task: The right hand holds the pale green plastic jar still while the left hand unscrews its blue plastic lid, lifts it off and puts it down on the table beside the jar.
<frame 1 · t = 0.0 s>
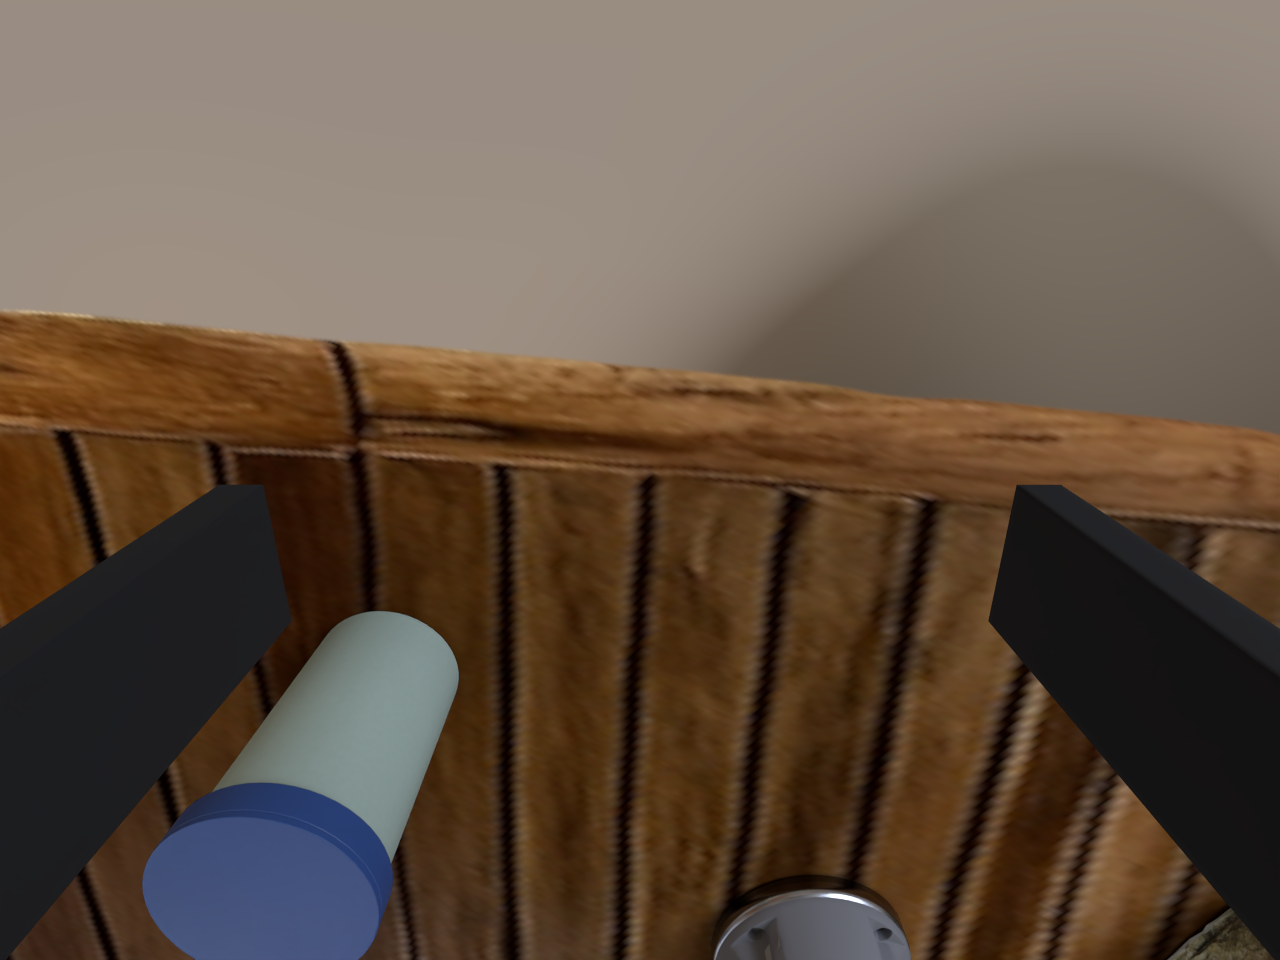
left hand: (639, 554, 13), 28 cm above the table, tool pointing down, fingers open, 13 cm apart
lid: (265, 898, 31), point 17 cm above the table, screwed on, not yet turned
fossil: (1219, 949, 57), on the table
jar: (389, 670, 47), on the table
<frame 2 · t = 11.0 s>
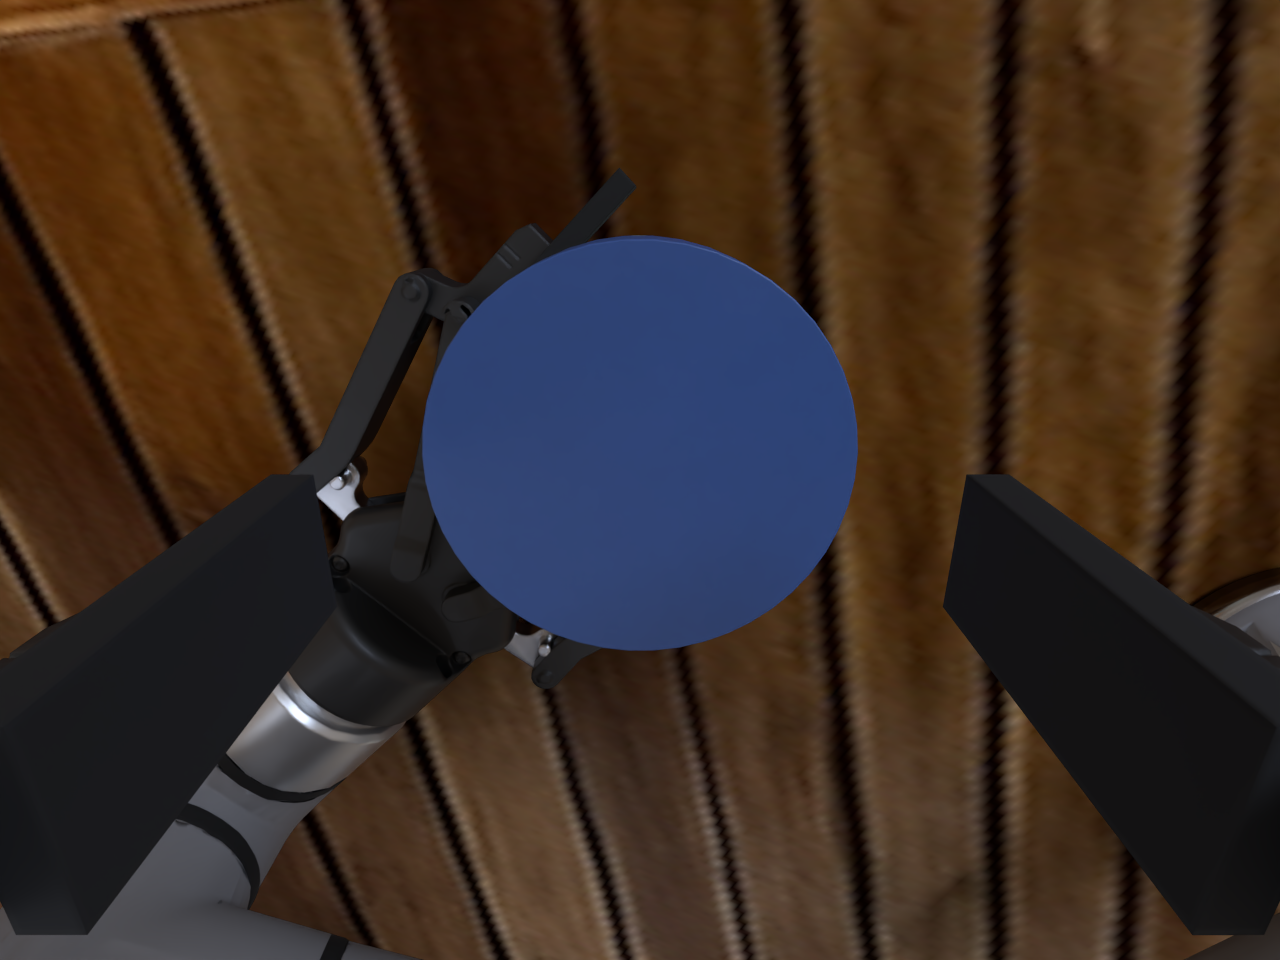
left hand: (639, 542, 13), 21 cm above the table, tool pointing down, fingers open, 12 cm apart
right hand: (727, 286, 25), fingers closed on jar, 9 cm apart
lid: (639, 462, 17), point 17 cm above the table, screwed on, not yet turned
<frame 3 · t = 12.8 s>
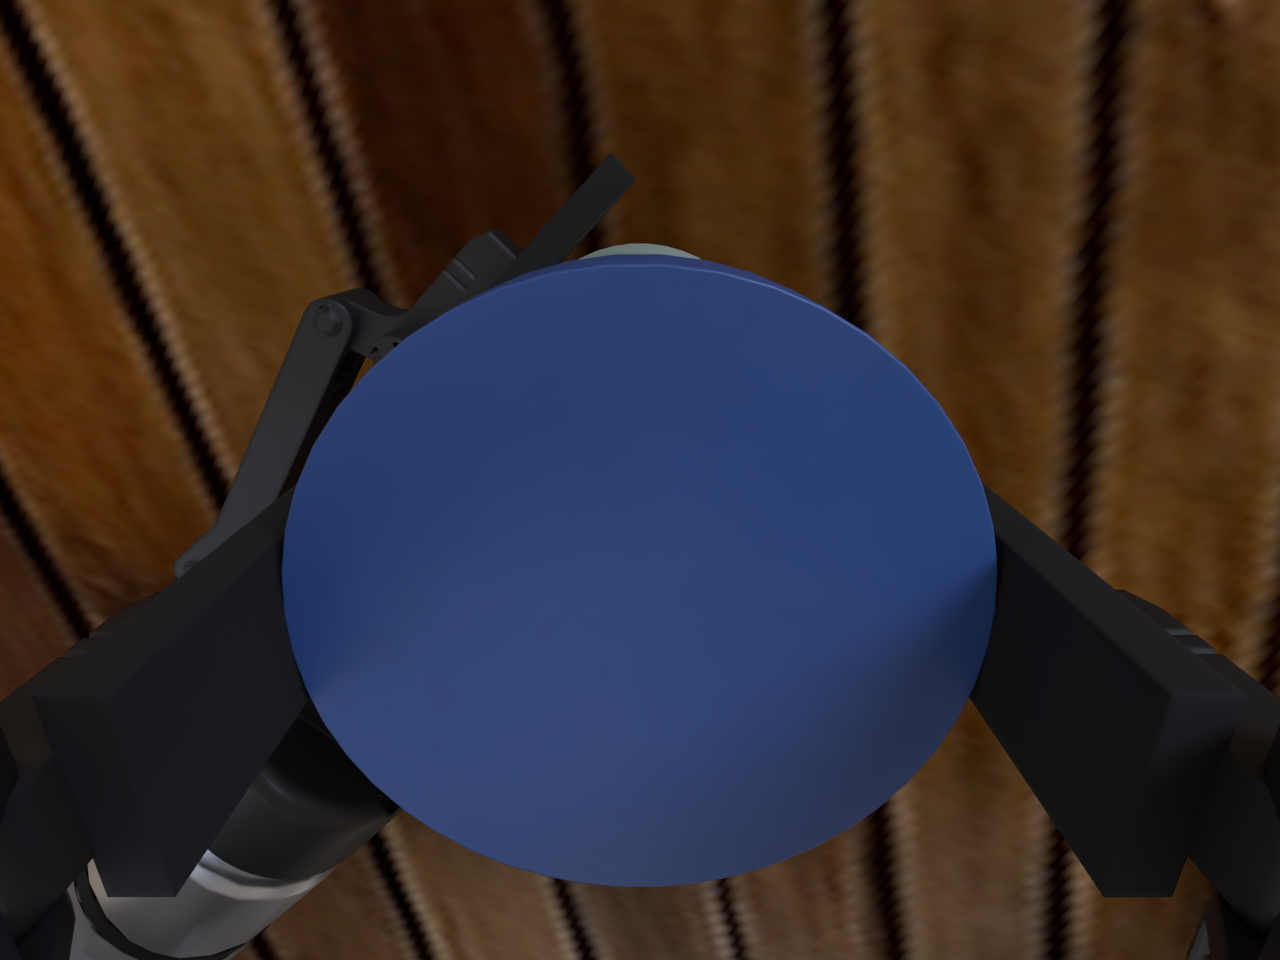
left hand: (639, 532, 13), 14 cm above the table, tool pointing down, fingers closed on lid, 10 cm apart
lid: (639, 619, 11), point 17 cm above the table, screwed on, not yet turned, touching left hand
jar: (639, 375, 26), on the table, touching right hand
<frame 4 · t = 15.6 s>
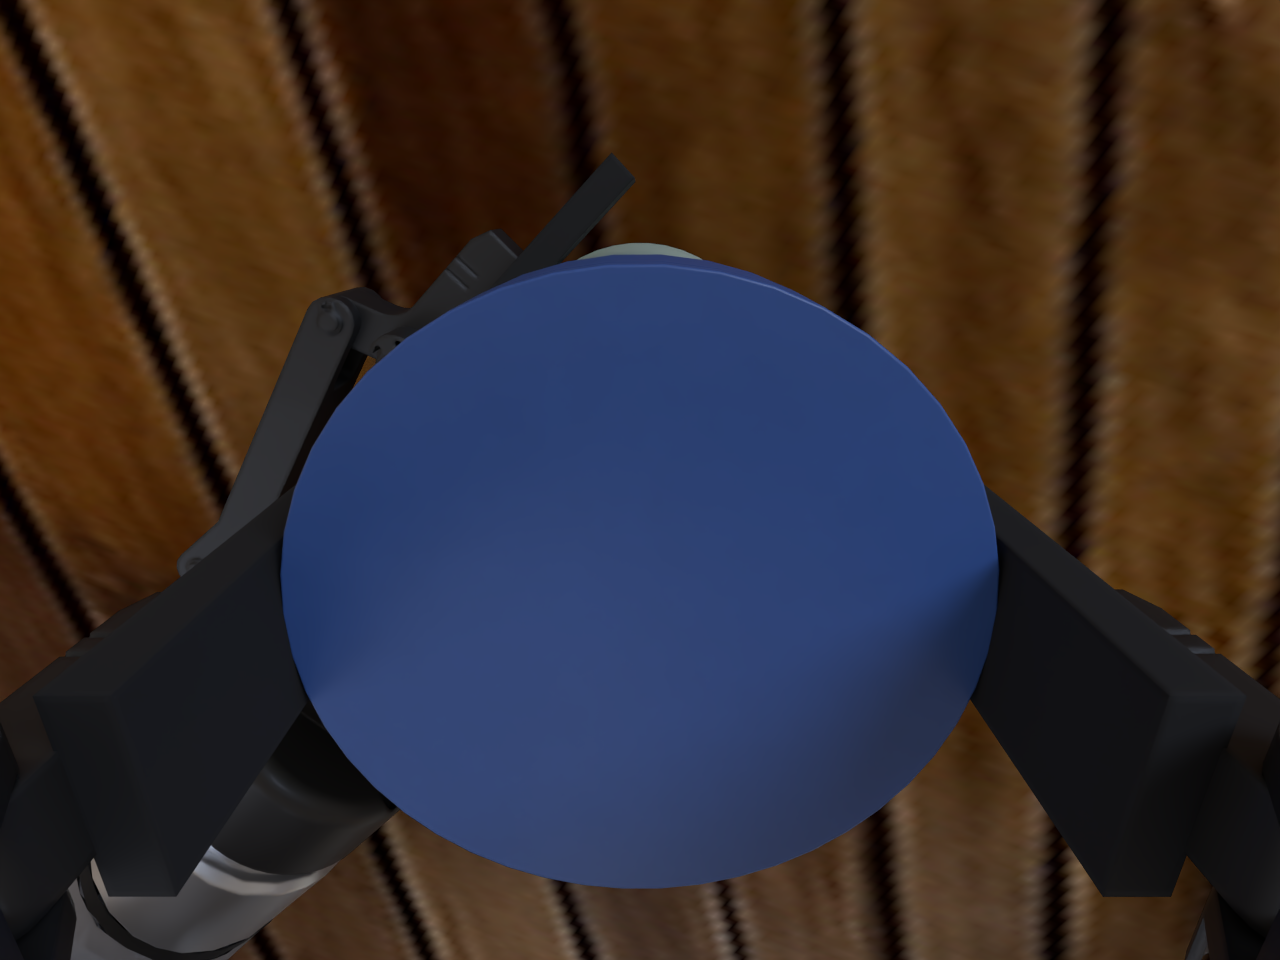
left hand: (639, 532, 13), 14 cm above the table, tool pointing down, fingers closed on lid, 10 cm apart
lid: (639, 620, 11), point 17 cm above the table, turned 75° so far, risen 0.2 cm, still on its thread, touching left hand
jar: (639, 374, 26), on the table, touching right hand
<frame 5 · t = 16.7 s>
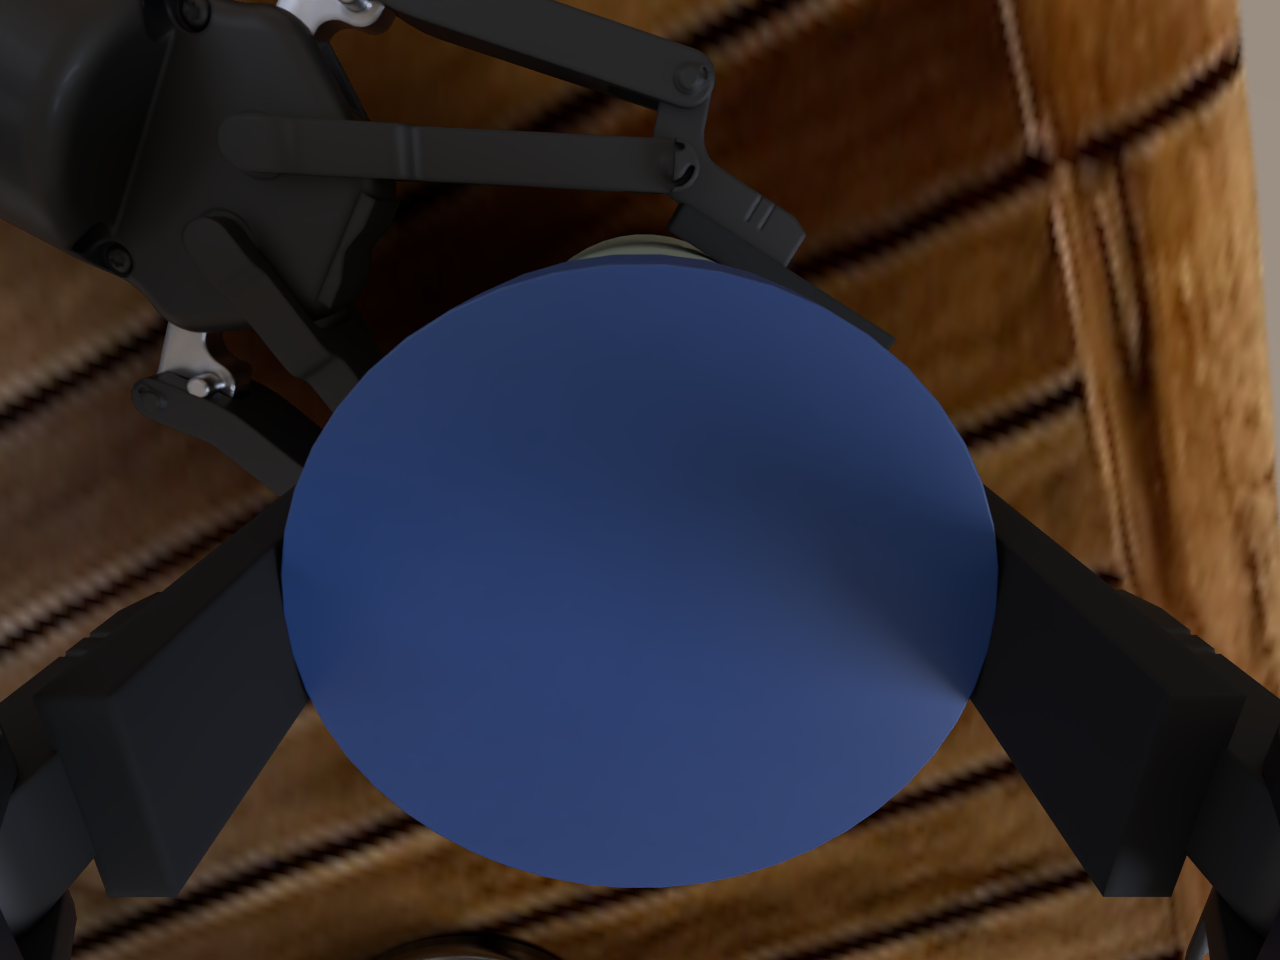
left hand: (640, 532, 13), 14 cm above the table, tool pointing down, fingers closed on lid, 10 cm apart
right hand: (770, 484, 21), fingers closed on jar, 9 cm apart
lid: (639, 619, 11), point 17 cm above the table, off its thread, touching left hand
jar: (643, 363, 27), on the table, touching right hand
when the left hand's fingers open (0 cm above the table, at t = 23.1 s): lid drops 2 cm, point 2 cm above the table.
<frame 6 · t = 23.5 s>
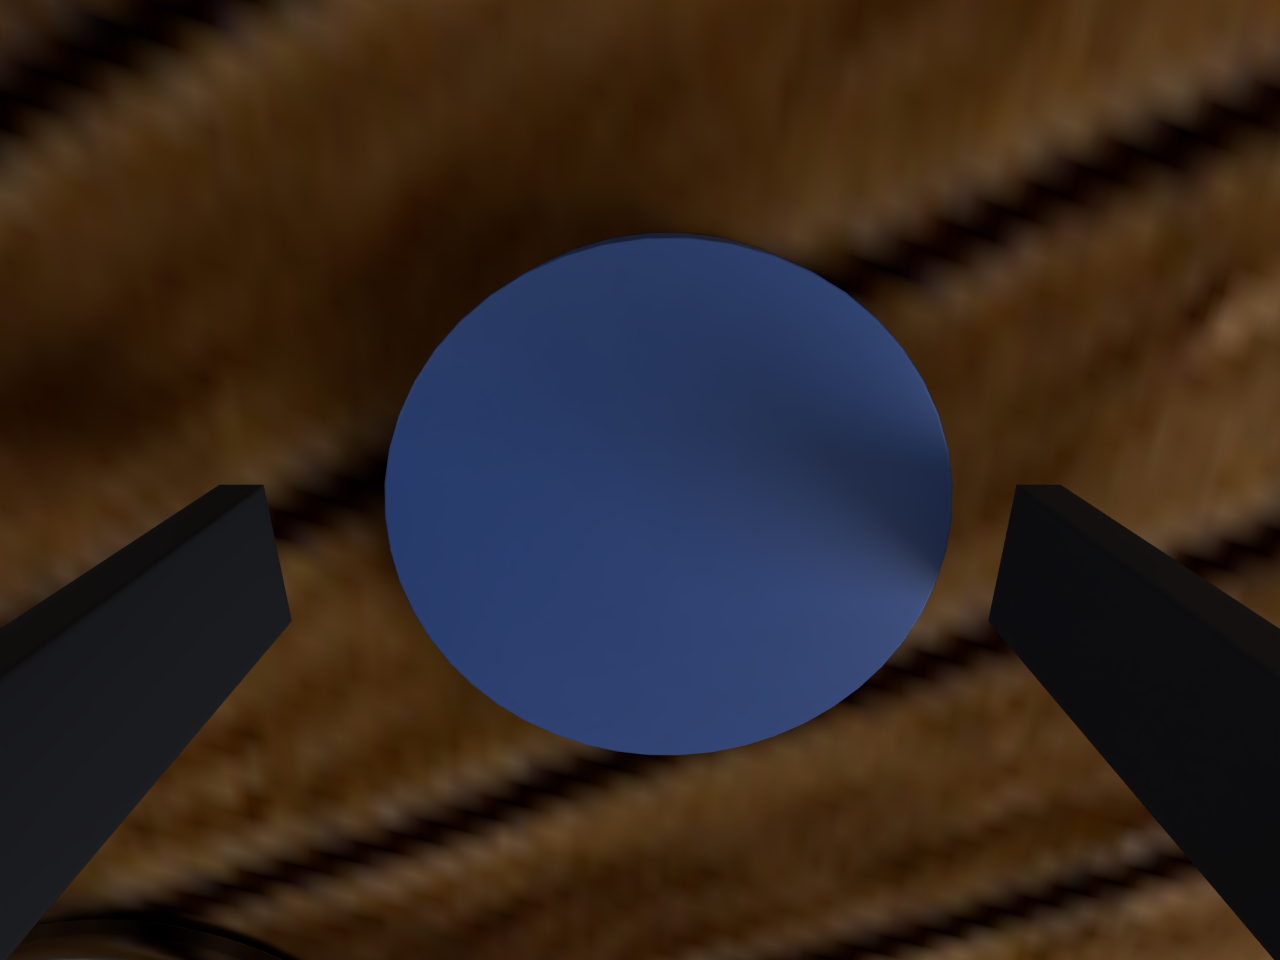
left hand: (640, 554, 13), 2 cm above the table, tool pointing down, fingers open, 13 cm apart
lid: (665, 526, 13), point 2 cm above the table, off its thread
when the right hand's fingers open (7 cm above the table, at t = 24.1 s): jar stays where it is, on the table.
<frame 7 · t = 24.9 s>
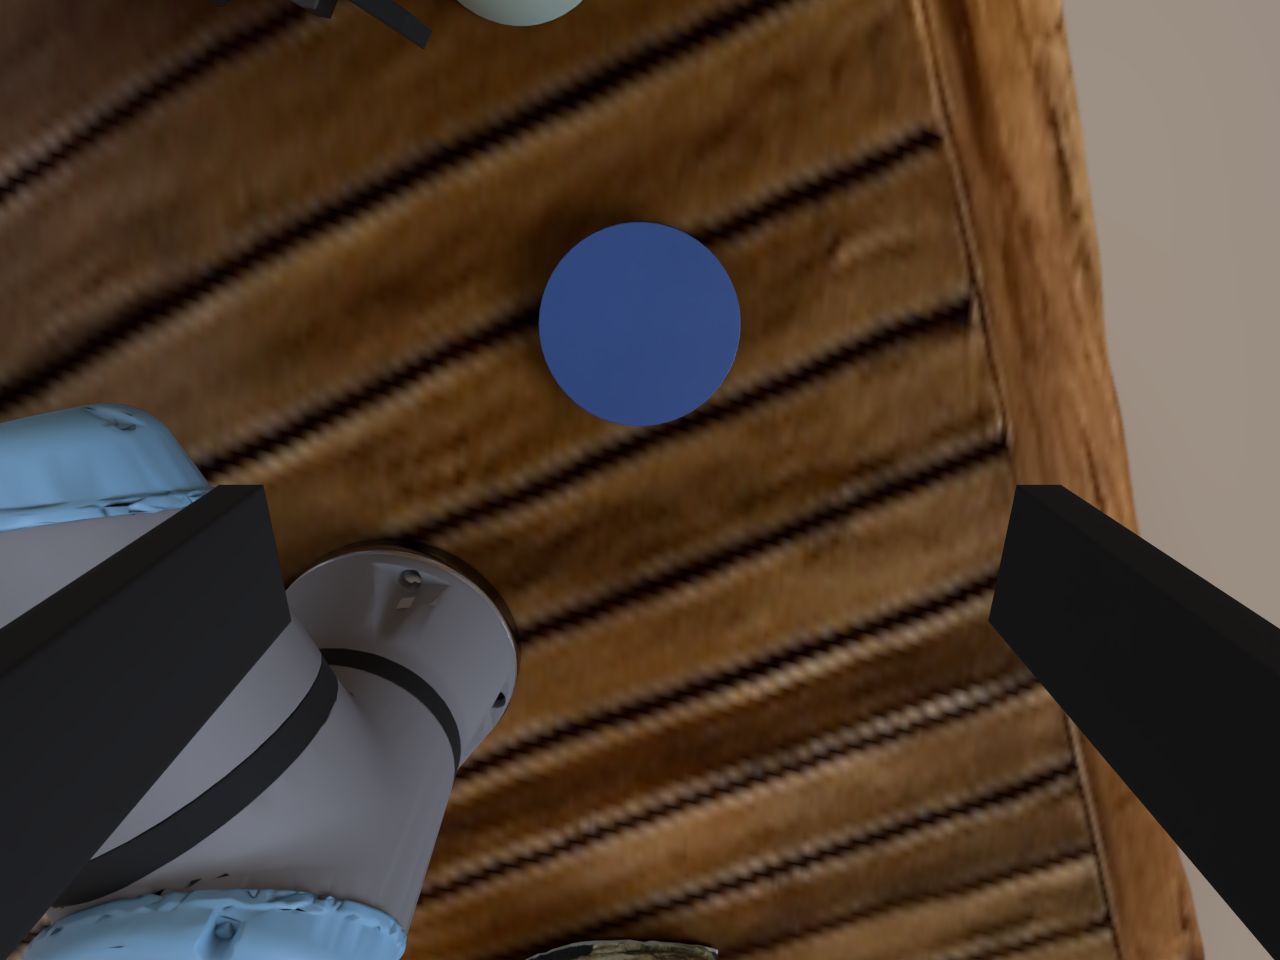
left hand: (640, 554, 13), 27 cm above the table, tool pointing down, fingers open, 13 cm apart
lid: (639, 328, 36), point 2 cm above the table, off its thread
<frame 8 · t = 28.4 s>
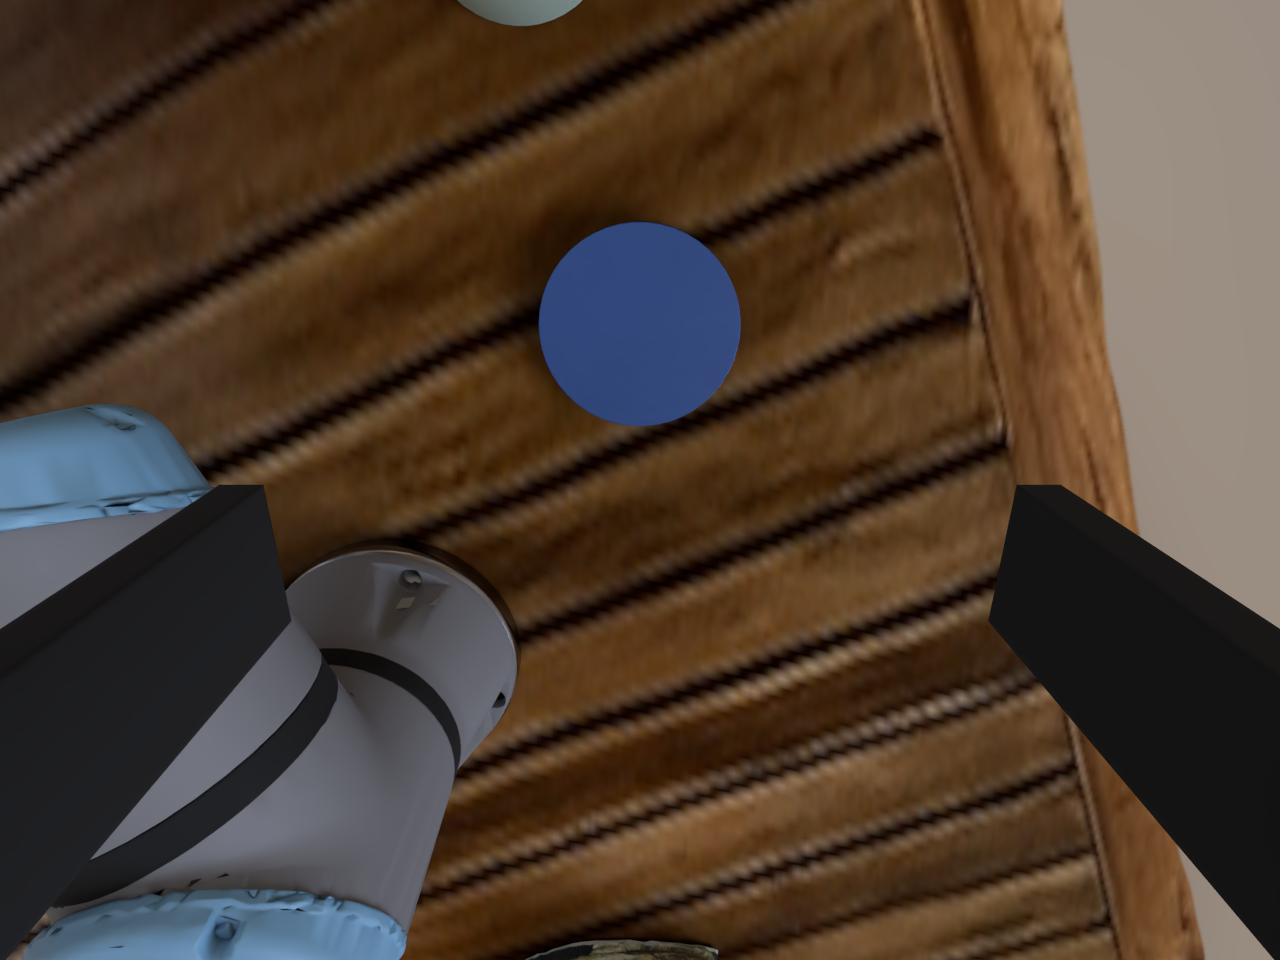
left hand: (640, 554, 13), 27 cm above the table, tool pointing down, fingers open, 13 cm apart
lid: (639, 328, 36), point 2 cm above the table, off its thread
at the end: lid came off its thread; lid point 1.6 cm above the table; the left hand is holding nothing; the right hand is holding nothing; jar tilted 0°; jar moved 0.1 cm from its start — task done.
